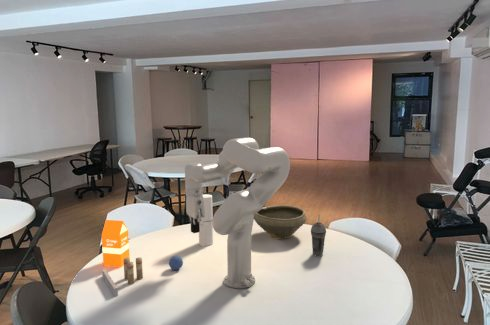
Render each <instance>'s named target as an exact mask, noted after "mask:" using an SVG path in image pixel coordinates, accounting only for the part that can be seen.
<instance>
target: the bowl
mask: <svg viewBox="0 0 490 325" xmlns="http://www.w3.org/2000/svg"><path fill="white" fill-rule="evenodd" d="M253 215H254V222H255V223H256V225H257V226H259V227H260V228H261V229H263V231H264V232H265V233H267V235H269V237H270V238H272V239H276V240H281V239H282V240H283V239H289V238H291V237H292V236H293V235H294V234H295V233H296V232H297V231H298V230H299V229H301V227H302V226H303V225H304V224H305V223H306V221H307V216H306V213H305V210H304V209H302V208H300V207H299V206H293V205H283V204H282V205H271V206H270V205H269V206H263V208H262V209H261V210H260V211H258V212H257V213H254V214H253Z"/></svg>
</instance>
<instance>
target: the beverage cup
mask: <svg viewBox="0 0 490 325" xmlns="http://www.w3.org/2000/svg"><path fill="white" fill-rule="evenodd" d="M317 216H318V221H317V222H315V223H313V224H312V226H311V228H310V235H311V244H312V245H311V247H312V255H313V256H314V255H316V256H315V257H322V256H323V254H324V248H325V247H324V246H325V239H326V236H327V235H326V234H327V229H326V226H325V225H324V224H323V223H322V222H320V216H321V214H320V213H319V214H318V215H317ZM321 255H322V256H321Z"/></svg>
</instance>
